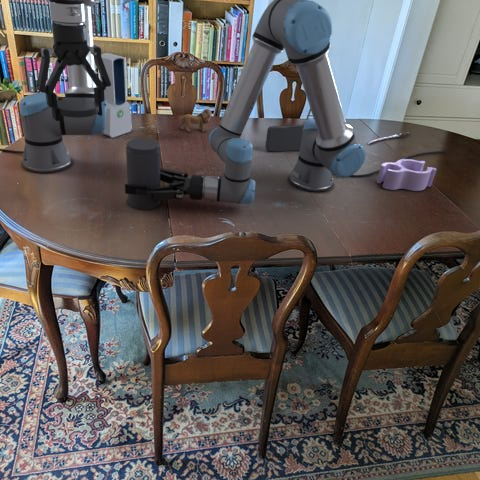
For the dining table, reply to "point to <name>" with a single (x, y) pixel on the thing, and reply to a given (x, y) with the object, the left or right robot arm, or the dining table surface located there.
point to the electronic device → (116, 97)
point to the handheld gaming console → (284, 137)
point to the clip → (406, 175)
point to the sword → (386, 138)
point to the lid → (77, 107)
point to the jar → (143, 170)
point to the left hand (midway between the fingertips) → (78, 116)
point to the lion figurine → (196, 119)
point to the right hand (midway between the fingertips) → (129, 181)
